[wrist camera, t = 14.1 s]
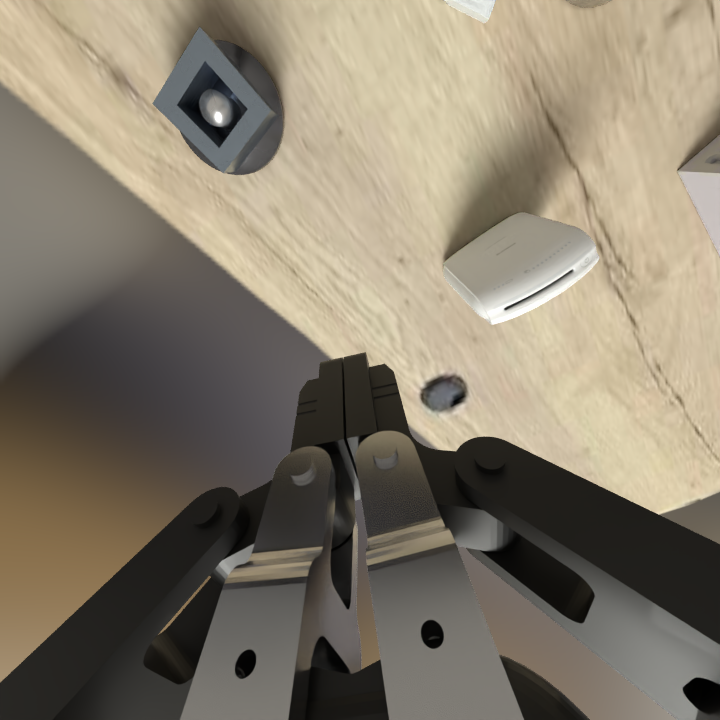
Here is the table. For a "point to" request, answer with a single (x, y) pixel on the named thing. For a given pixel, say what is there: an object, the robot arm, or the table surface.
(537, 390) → the table surface
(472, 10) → the external hard drive
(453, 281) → the photo printer
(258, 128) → the hollow square housing
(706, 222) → the game console
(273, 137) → the hub
